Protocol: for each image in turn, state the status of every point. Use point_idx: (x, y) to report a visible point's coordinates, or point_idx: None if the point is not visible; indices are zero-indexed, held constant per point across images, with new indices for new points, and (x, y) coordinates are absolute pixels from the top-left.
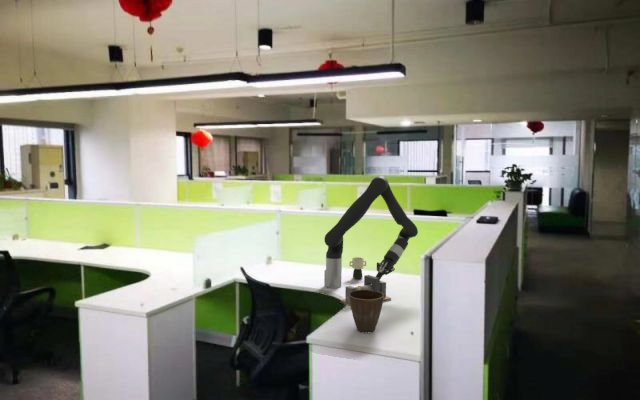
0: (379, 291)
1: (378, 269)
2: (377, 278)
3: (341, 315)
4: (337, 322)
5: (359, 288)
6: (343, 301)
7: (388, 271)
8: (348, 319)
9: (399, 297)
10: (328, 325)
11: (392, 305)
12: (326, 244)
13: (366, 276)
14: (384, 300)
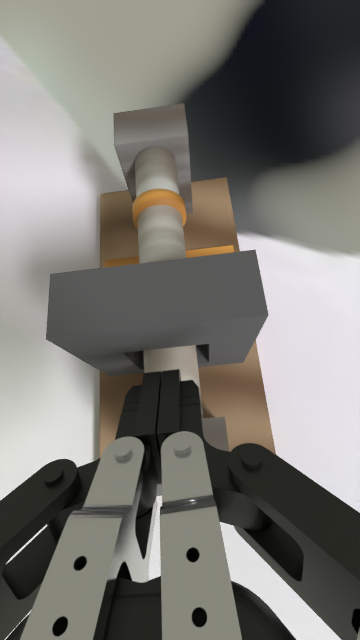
0: (101, 369)
1: (231, 468)
2: (56, 306)
3: (58, 117)
4: (7, 80)
5: (138, 192)
6: (199, 182)
7: (28, 589)
8: (4, 119)
9: None
10: (5, 52)
11: (13, 406)
12: None
13: (213, 255)
14: (102, 414)
